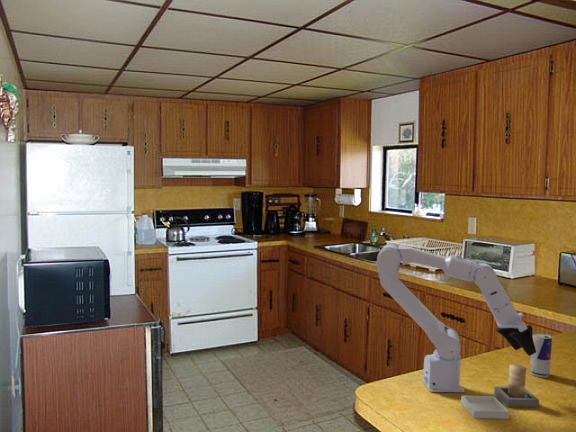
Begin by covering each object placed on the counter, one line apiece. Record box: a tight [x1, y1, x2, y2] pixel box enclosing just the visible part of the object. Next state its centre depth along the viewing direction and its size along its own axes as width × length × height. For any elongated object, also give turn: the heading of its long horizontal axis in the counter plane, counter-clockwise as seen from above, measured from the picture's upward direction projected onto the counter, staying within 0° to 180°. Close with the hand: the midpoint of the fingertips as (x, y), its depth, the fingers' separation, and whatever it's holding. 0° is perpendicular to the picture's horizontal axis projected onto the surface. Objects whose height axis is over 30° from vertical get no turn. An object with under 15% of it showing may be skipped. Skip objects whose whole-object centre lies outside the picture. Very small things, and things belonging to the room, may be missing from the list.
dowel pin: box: [507, 364, 527, 398], centre depth 132 cm, size 4×4×9 cm
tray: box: [460, 395, 510, 420], centre depth 126 cm, size 8×8×2 cm
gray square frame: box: [493, 386, 540, 409], centre depth 132 cm, size 8×8×2 cm
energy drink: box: [529, 332, 553, 379], centre depth 150 cm, size 5×5×12 cm
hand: (525, 351), depth 133 cm, fingers open, 7 cm apart
